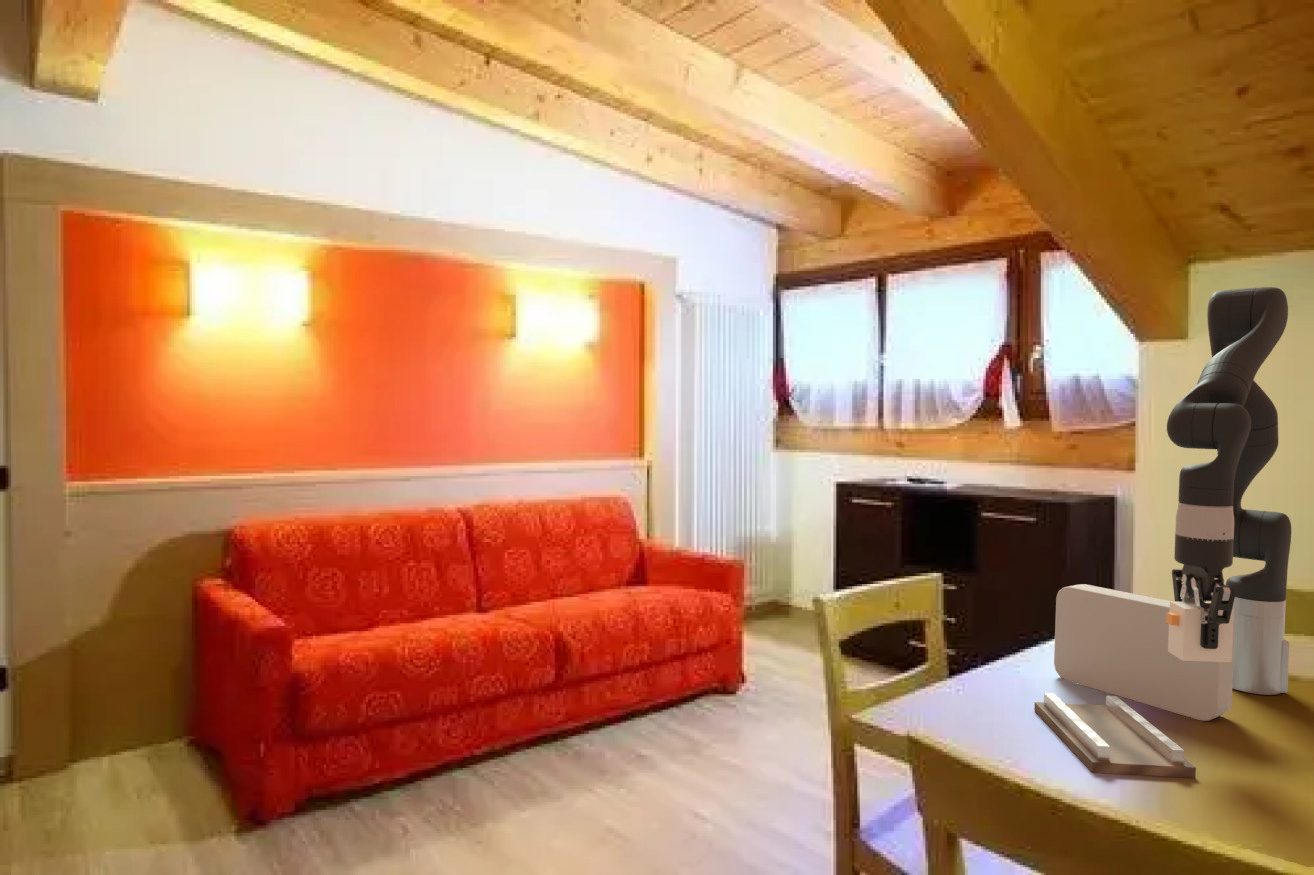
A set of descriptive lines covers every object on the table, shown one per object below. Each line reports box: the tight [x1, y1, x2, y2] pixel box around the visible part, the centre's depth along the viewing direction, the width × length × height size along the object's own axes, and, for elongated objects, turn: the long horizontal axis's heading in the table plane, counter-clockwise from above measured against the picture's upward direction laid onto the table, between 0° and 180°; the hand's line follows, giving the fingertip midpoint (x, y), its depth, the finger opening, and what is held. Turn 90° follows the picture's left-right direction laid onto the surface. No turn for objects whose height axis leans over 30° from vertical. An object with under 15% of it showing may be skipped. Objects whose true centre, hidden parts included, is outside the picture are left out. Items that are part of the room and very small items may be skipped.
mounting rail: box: [1043, 692, 1185, 764], centre depth 132 cm, size 12×22×2 cm, turn 174°
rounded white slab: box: [1053, 583, 1235, 722], centre depth 152 cm, size 29×8×18 cm, turn 33°
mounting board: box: [1033, 701, 1197, 779], centre depth 132 cm, size 14×24×2 cm, turn 174°
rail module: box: [1166, 600, 1234, 662], centre depth 130 cm, size 8×4×8 cm, turn 84°
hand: (1199, 642), depth 130 cm, fingers closed on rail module, 4 cm apart
